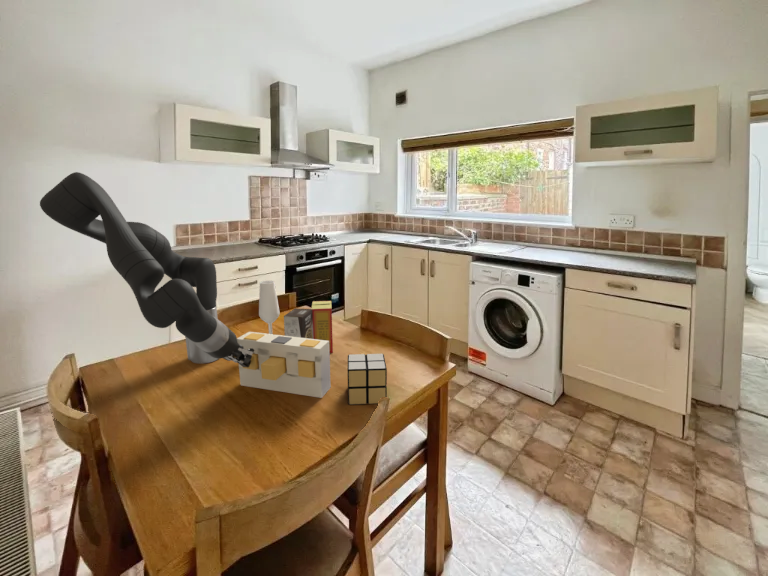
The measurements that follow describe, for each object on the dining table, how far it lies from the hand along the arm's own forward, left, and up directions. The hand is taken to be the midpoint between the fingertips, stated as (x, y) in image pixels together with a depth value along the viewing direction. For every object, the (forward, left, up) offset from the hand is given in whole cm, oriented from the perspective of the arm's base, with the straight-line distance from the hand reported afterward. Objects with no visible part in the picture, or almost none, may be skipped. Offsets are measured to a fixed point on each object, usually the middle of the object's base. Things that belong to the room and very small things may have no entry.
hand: (247, 363), depth 112 cm
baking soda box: (+7, +34, -8) cm, 35 cm away
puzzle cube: (+32, +7, -8) cm, 34 cm away
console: (+8, +5, -8) cm, 12 cm away
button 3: (+17, +4, -2) cm, 17 cm away
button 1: (0, +3, -2) cm, 4 cm away
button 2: (+8, 0, -2) cm, 9 cm away
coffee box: (+4, +23, -8) cm, 24 cm away
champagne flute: (-9, +27, -8) cm, 29 cm away
